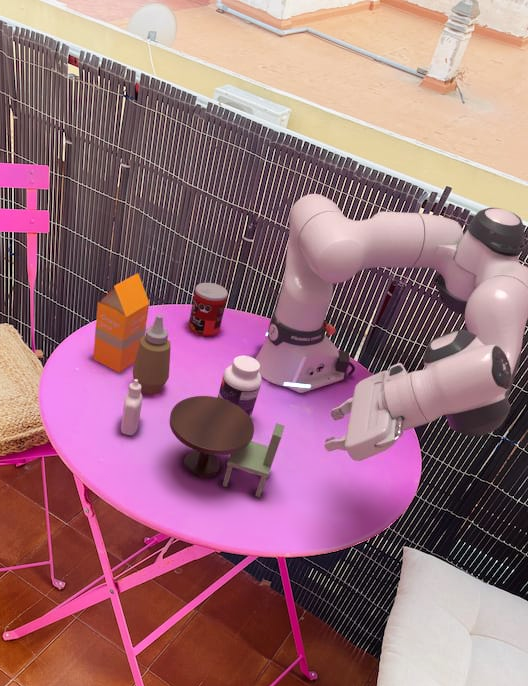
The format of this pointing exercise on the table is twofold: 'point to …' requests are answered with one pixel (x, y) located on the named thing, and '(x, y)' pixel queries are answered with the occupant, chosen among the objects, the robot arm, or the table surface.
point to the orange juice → (121, 324)
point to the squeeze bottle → (153, 359)
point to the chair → (256, 458)
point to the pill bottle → (241, 383)
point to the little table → (210, 431)
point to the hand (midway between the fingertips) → (329, 430)
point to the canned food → (207, 309)
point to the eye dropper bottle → (132, 409)
